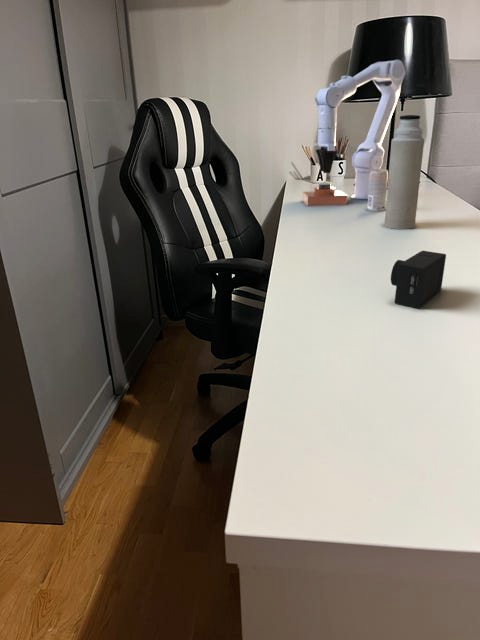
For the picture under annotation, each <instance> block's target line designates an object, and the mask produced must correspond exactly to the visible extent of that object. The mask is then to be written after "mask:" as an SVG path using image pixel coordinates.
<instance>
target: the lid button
mask: <svg viewBox="0 0 480 640" xmlns="http://www.w3.org/2000/svg"><path fill="white" fill-rule="evenodd" d="M318 187H319V189H331V187H332V183H330V182H320V183H318Z"/></svg>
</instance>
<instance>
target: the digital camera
mask: <svg viewBox="0 0 480 640" xmlns="http://www.w3.org/2000/svg"><path fill="white" fill-rule="evenodd" d="M446 260H447V254H446V253H442V252H435V251H428V250H421V251H418V252H417V253H416V254H413V255H412V256H410V257H409V258H407V259H406V260H401V259H397V260H396V261H395V262H394V263H393V266H392V268H391V273H390V283H391V285H392V286H395V295H394V304H396V305H399V306H404V307H410V308H413V309H418V310H419V309H421V308H422V307H423V306H424V305H426V304H427V303H428V302H429V301H430V300H432V299H433V298H434V297H436V296H437V295H438V294H439V293H441V292H442V287H443V280H444V272H445V265H446Z"/></svg>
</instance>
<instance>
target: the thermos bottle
mask: <svg viewBox="0 0 480 640" xmlns="http://www.w3.org/2000/svg"><path fill="white" fill-rule="evenodd" d="M420 119H421V115H418V114H406V115H405V114H404V115H400V116H399V120H400V121H399V125H398V127H397V128H396V129H395V131H394V137H393V138H392V139H391V142H390V143H391V144H390V156H389V167H388V180H387V191H386V203H385V212H384V223H383V225H384V227H385V228H389V229H396V230H409V229H413V228H415V226H416V220H417V210H418V209H417V208H418V200H419V190H420V180H421V173H422V165H423V156H424V155H423V154H424V146H425V138H423V134H424V133H423V129H422V128H421V127H420V125H421V124H420Z"/></svg>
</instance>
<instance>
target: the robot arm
mask: <svg viewBox="0 0 480 640" xmlns="http://www.w3.org/2000/svg"><path fill="white" fill-rule="evenodd" d="M405 76H406V69H405V65H404V63H403V61H402V60H400V59H394V60H387V61H377V62H374V63H372V64H370V65H369V66H368V67H366V68H365V69H363V70H362V71H360V72H358V73H357V74H355V75H354V76H350V75H342V76H341V77H340V79H338V81H336V82H331V83H330V84H329V86H328V87H322V88H320V89H319V90H318V92H317V93H316V97H314V101H315V104H316V106H317V111H318V124H317V125H318V126H317V142H313V145H314V146H315V147H318V149H317V148H316V149H315V152H316V155H317V158H318V162H319V170H320V172H322V173H323V174H330V173H331V172H332V167H333V164H334V161H335V158H336V156H337V155H338V150H335V146H337V142H336V138H337V118H338V117H337V115H338V107H339V106H340V105H341V103H342V101H344V100H345V99H347V98H349V97H351V96H352V95H354V94H355V93H356V92H357V88H358V87H361V86H363V85H365V84H367V83H368V82H370V81H372V82H373V84H374V85H375V86H376V88H377V89H378V91H379V92H380V93H381V97H380V100H379V103H378V105H377V108H376V110H375V113H374V116H373V119H372V121H371V124H370V126H369V130H368V133H367V136H366V138H365V140H364V141H363V142H362V143H360V144H359V145H358V147H357V150H356V151H355V152H354V153H353V155H352V157H351V165H352V167H353V168H354V172H355V178H354V194H352V195H351V196H350V199H358V200H359V199H361V200H362V199H363V200H368V194H369V180H370V172H371V170H375V169H381V168H382V166H383V162H384V155H385V150H384V148H383V146H382V143H383V140H384V138H385V136H386V132H387V130H388V127H389V124H390V122H391V119H392V118H393V117H392V116H393V113H394V112H395V109H396V106H397V103H398V100H399V98H400V94H401V89H402V83H403V80H404V79H405ZM319 148H320V149H319Z"/></svg>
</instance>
